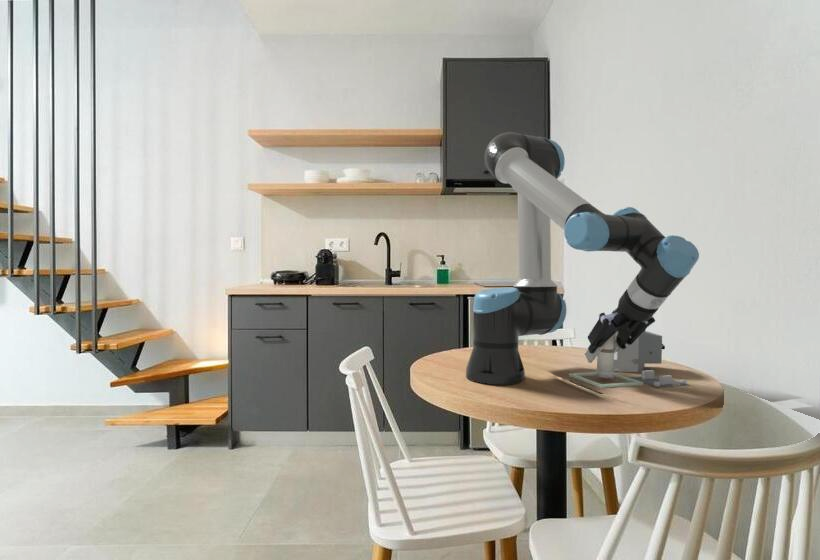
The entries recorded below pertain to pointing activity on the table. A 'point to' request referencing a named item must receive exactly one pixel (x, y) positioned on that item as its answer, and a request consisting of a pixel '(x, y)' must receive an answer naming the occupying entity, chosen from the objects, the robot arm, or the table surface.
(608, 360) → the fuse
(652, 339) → the circuit breaker
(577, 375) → the tray
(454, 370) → the table surface
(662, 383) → the block
